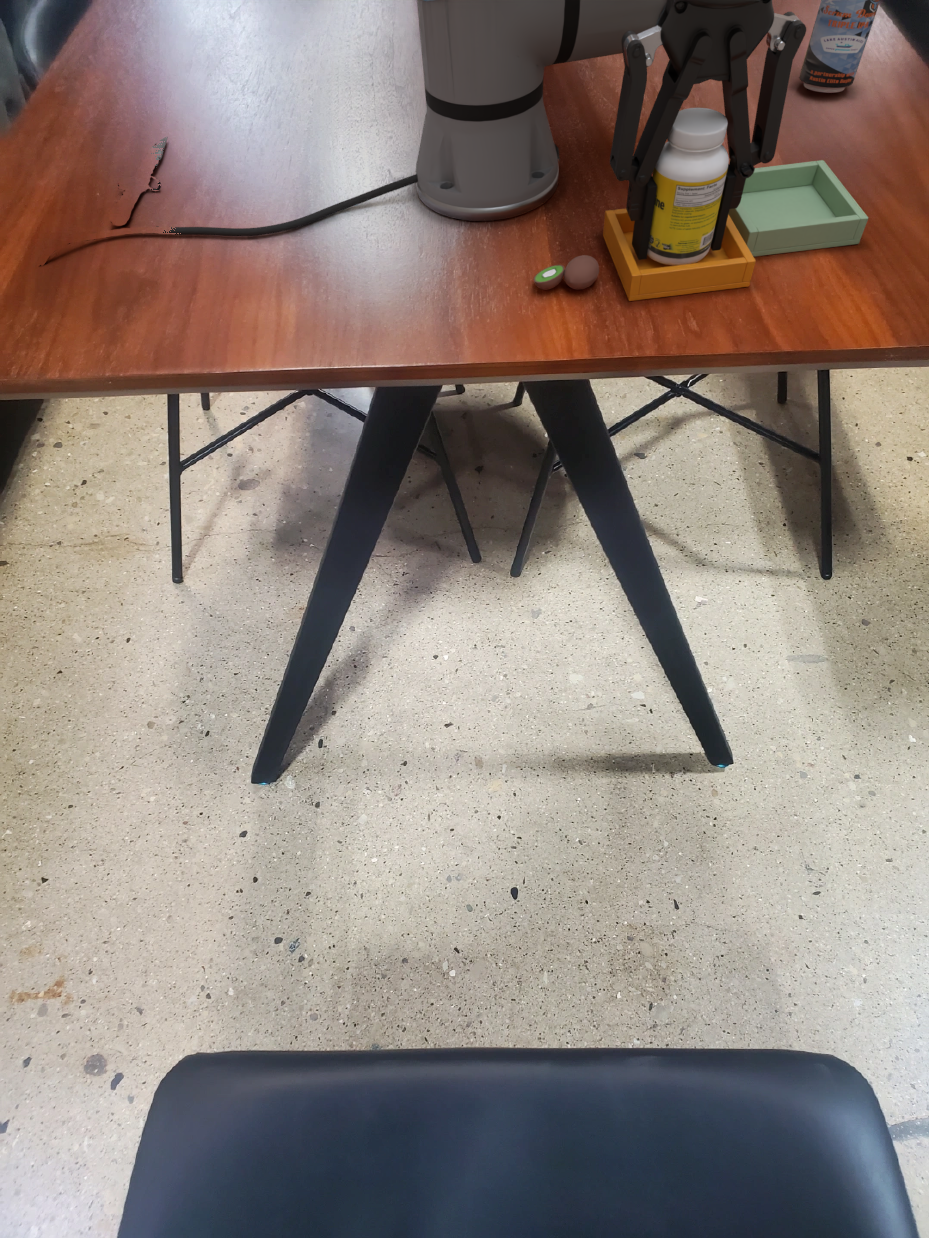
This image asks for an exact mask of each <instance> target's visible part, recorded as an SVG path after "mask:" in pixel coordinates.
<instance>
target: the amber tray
mask: <svg viewBox="0 0 929 1238" xmlns="http://www.w3.org/2000/svg"><path fill="white" fill-rule="evenodd" d="M634 222H635V221H631V220H630V217H629V215H628V213H627V209H626V207H625V208H620V209H619V208H618V209H608V210H605V211H604V220H603V232H602V236H603V239H604V242H605V244H606V247H607V249H608V252H609V254H610V257H611V259H612V262H613V265H614V267H615V269H616V272H617V275H618V278H619V279H620V280H619V281H620V282H621V284H622V287H623V290H624V292H625V294H626V298H627V301H628V302H631V301H632V302H635V301H642V300H649V299H651V300H652V299H659V298H665V297H666V298H667V297H674V296H683V295H692V294H697V293H699V294H701V293H707V292H716V291H724V290H731V289H740V288H749V287H750V286H751V281H752V277H753V273H754V269H755V267H756V266H755V265H756V263H757V262H756V258H755V257H753V255H752V253H751V252H750V250H749V248H748V247H747V245H746V243H745V242H744V240H743V238H742V236H741V235H740V233H739V231H738V230H737V228H736V226H735V225H734V223H733V221H732V219H731V218H730V216H729V214H728V218H727V223H726V227H725V231H724V236H723V240H722V245H721V249H720V250H715V251H712V249H711V247H710V249H709V251H708V253H707V255H706V256H705V257H704V258H703V259H701V260H700V261H698V262H696V263H693V264H686V265H677V266H674V265H666V264H662V263H659V262H657V261H655V260H653V259H651V258H650V257H649V256H648V255H647V259H641V260H638V257H637V255H636V253H635V250H634V248H633V246H632V238H633V230H634Z"/></svg>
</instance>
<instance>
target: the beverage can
mask: <svg viewBox="0 0 929 1238" xmlns="http://www.w3.org/2000/svg"><path fill="white" fill-rule="evenodd" d="M880 2H881V0H820V3H819V6H818V9H817V14H816V16H815V20H814V24H813V28H812V31H811V35H810V38H809V42H808V45H807V49H806V52H805V56H804V59H803V62H802V66H801V69H800V73H799V77H798V78H799V80H800V81H801V82H802V83H803V87H804V88H805V89H806V90H807V89H808V90H810V91H813V92H817V93H825V94H826V93H828V94H829V93H831V94H832V93H833V94H834V93H840V92H843V91H844V90H845V89H846V88H847V87H850V86H852V84H854V81H855V79H856V76H857V72H858V69H859V66H860V63H861V61H862V57H863V54H864V51H865V49H866V46H867V45H866V44H867V42H868V39H869V36H870V34H871V30H872V28H873V27H872V26H873V24H874V21H875V18H876V15H877V12H878V10H879V9H878V8H879V6H880Z"/></svg>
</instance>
